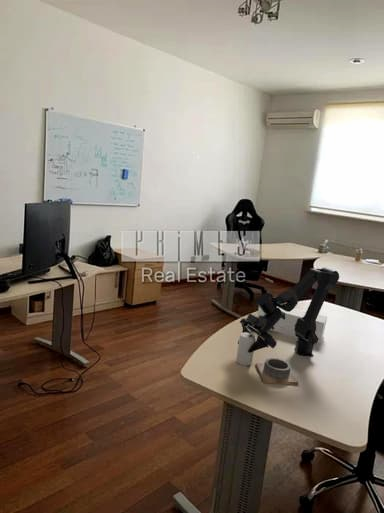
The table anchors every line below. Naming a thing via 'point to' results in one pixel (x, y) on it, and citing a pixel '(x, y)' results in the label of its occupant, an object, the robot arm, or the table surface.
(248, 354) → the beverage can
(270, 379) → the can holder
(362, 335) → the table surface
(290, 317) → the white foam block
